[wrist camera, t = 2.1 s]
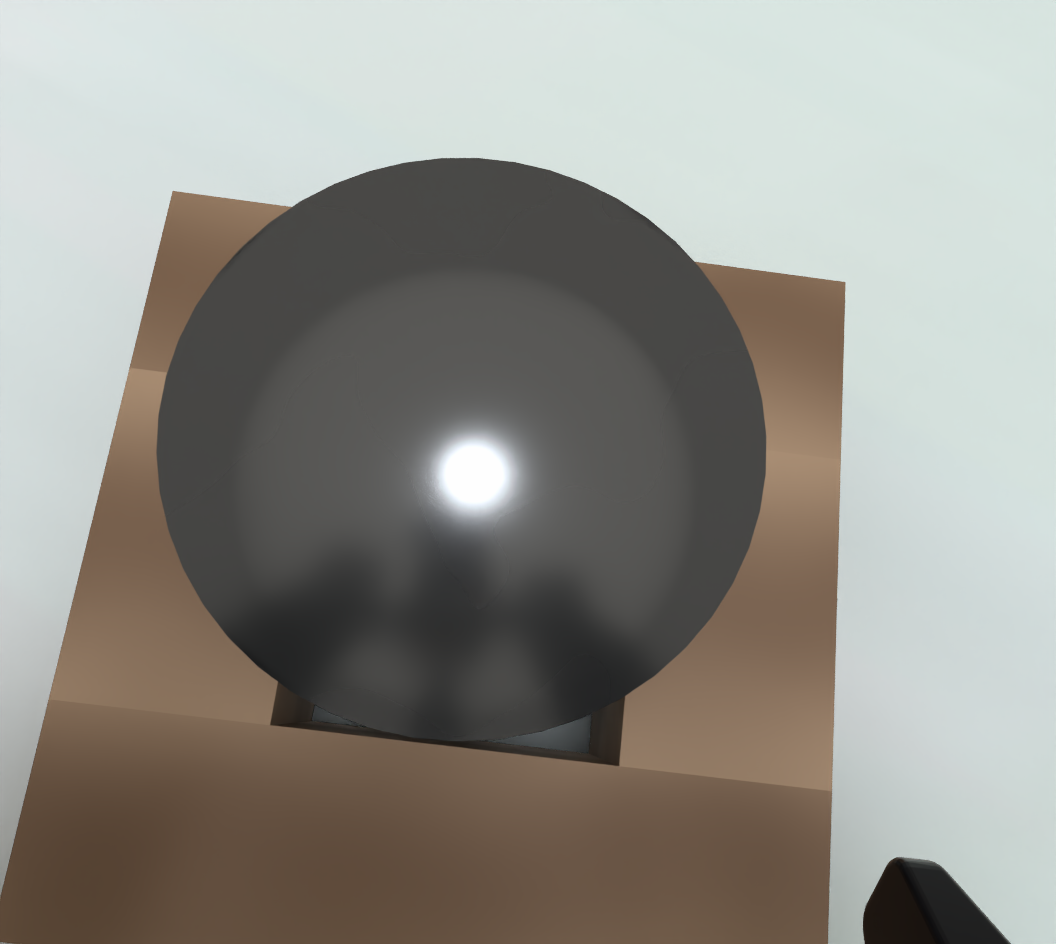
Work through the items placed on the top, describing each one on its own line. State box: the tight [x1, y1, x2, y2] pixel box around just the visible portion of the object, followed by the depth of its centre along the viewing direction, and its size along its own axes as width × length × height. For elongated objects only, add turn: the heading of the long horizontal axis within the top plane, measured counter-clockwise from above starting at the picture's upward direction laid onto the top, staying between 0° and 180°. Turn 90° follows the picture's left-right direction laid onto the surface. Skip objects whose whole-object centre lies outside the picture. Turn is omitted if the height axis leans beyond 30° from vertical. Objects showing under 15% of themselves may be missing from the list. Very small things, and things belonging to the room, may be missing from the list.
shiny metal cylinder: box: [156, 158, 766, 741], centre depth 13 cm, size 5×5×12 cm
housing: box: [0, 191, 845, 944], centre depth 18 cm, size 13×13×4 cm
